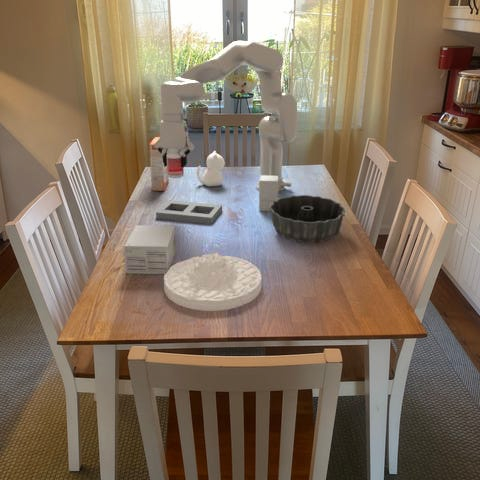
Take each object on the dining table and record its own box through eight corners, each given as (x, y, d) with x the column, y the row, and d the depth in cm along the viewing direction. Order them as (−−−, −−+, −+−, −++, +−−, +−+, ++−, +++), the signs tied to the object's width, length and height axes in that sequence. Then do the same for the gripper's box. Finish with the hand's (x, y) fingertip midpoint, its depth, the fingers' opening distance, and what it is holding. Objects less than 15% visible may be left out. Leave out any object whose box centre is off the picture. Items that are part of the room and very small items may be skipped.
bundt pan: (347, 250, 175) (350, 222, 171) (268, 248, 176) (269, 220, 172) (339, 221, 199) (341, 196, 195) (269, 219, 200) (270, 194, 196)
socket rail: (222, 211, 208) (222, 205, 207) (211, 223, 195) (211, 217, 194) (169, 206, 212) (169, 200, 211) (156, 218, 200) (155, 212, 199)
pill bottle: (186, 177, 198) (185, 148, 194) (171, 179, 195) (170, 150, 191) (179, 173, 203) (177, 144, 198) (164, 175, 200) (163, 146, 195)
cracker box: (165, 191, 229) (162, 144, 221) (151, 191, 229) (148, 144, 221) (169, 181, 242) (167, 136, 234) (156, 181, 242) (154, 136, 234)
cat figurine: (225, 187, 235) (225, 154, 229) (197, 188, 233) (196, 155, 227) (223, 181, 243) (223, 149, 237) (196, 182, 242) (195, 150, 236)
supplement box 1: (169, 274, 158) (167, 246, 154) (125, 274, 158) (122, 246, 155) (176, 251, 174) (175, 224, 170) (136, 250, 174) (134, 224, 170)
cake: (209, 257, 170) (209, 229, 166) (280, 283, 154) (281, 254, 150) (143, 289, 150) (141, 259, 147) (216, 324, 134) (216, 291, 130)
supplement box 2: (277, 205, 214) (278, 175, 209) (277, 211, 207) (278, 181, 202) (259, 204, 215) (260, 174, 210) (258, 211, 208) (259, 180, 203)
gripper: (198, 116, 191) (200, 164, 199) (154, 114, 195) (157, 161, 203) (192, 120, 185) (193, 170, 192) (146, 118, 189) (149, 166, 196)
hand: (175, 165), depth 197 cm, fingers closed on pill bottle, 6 cm apart
